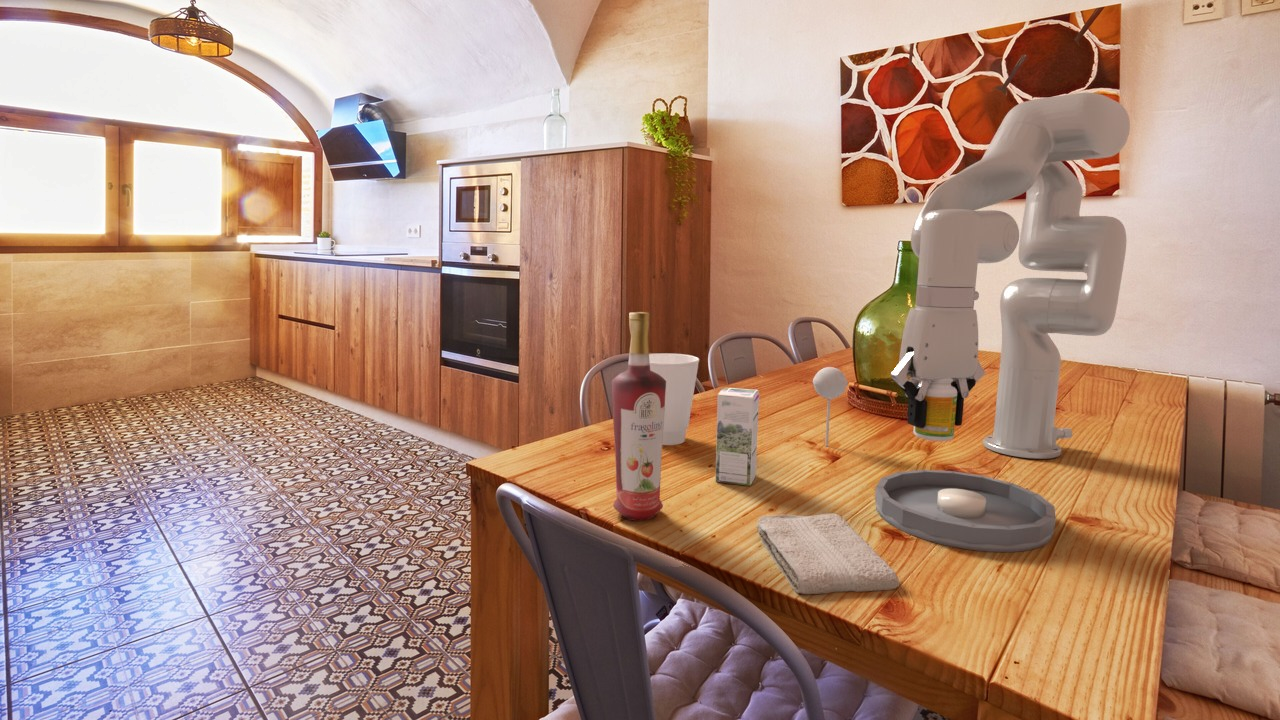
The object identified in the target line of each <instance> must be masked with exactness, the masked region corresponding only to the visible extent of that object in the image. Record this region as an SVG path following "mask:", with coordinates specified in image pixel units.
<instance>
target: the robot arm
mask: <svg viewBox="0 0 1280 720" xmlns="http://www.w3.org/2000/svg"><path fill="white" fill-rule="evenodd" d="M1130 122H1131V121H1130V116H1129V113H1128V111H1127V110H1126V107H1124V106H1123V104H1121V103H1120V102H1118V101H1117V100H1114V99H1113V98H1110V97H1109V96H1106V95H1103V94H1100V93H1096V92H1078V93H1077V92H1076V93H1071V94H1063V95H1055V96H1050V97H1041V98H1034V99H1030V100H1026V101H1023V102H1020V103H1018V104H1017V105H1015V106H1013V107H1012V108H1011V109H1010V110H1009V111H1008V112H1007V114H1006V115H1005V116H1004V118H1003V119H1002V122H1001V123H1000V125H999V127H998V128H997V131H996V132H995V133H994V136H993V137H992V139H991V141H990V143H989V145H988V146H987V149H986V150H985V151H984V154H983V156H982V158H981V159H980V160H978V161H977V162H976V161H975V162H974V163H973V164H970V165H969V166H967V167H965V168H964V169H962V170H961V171H959V172H958V173H956V174H955V175H953V176H951V177H950V178H949V179H947V180H945V181H944V182H943V183H941V184H940V185H939V186H937V187H936V188H935V189H934V190H933V191H932V192H931V193H930V195H929V196H928V198H927V199H926V200H925V203H924V204H923V206H922V208H921V209H920V211H919V213H918V215H917V216H916V218H915V221H914V223H913V227H912V230H911V234H910V246H911V249H912V252H913V253H914V255H915V256H916V257H917V258H918V267H917V269H918V271H917V281H916V282H917V283H916V294H915V305H914V306H915V307H913V308H912V307H911V308H909V311H908V314H907V316H906V321H905V324H904V328H903V332H902V338H901V339H902V340H901V345H900V351H899V359H898V364H897V365H896V367H895V368H894V370H893V371H891V373H890V378H891V379H892V380H893V381H894V382H895V383H896V384H897V385H898V387H899V388H900V389H901V390H902V391H903V392H904V395H905V397H906V398H908V401H907V415H906V416H907V420H906V421H907V424H908V425H910V426H913V427H914V426H916V427H918V428H924V427H925V426H926V414H927V401H925V400H923V399H924V397H925V394H926V391H927V389H928V386H929V383H930V380H940V379H945V378H951V379H953V382H951V386H953V387H955V388H956V390H957V402H956V414H955V426H957V427H958V426H959V427H960V426H962V424H963V414H964V405H965V404H964V403H965V399H967V398H968V397H969V396H970V392H971V390H972V389H973V388H975V385H976V384H977V383H978V381H980V380H981V379H982V378H983V377H984V375H985V374H986V371H985V369H984V368H983V366H982V365H981V363H980V362H979V360H978V356H979V323H978V314H977V310H976V309H974V308H975V307H974V306H975V301H977V300H979V298H980V293H979V292H978V291H977V290H976V286H977V275H978V265H979V264H996V263H999V262H1002V261H1005V260H1006V259H1008V258H1009V257H1010V256H1011V255H1012V254H1013V253H1014V251H1015V250H1016V249H1017V246H1018V261H1019V263H1020V264H1021V265H1022V266H1023V268H1026V269H1029V270H1033V271H1043V272H1044V271H1045V272H1066V273H1067V272H1070V273H1084V274H1086V277H1087V279H1073V278H1072V279H1071V278H1058V277H1057V278H1055V277H1054V278H1052V277H1051V278H1050V277H1025V278H1024V277H1023V278H1019V279H1016V280H1013V281H1010V282H1009V283H1008V284H1007V285H1006V286H1004V288H1003V289H1002V292H1001V295H1000V298H999V299H1000V300H999V310H1000V320H1001V321H1000V322H1001V351H1000V359H999V361H1000V362H999V375H998V382H997V383H998V384H997V393H996V394H997V395H996V402H995V403H996V405H995V413H994V415H995V416H994V424H993V434H990V435H987V436H985V437H984V438H983V440H982V441H983V442H982V443H983V446H984V447H985V448H987V449H988V450H989V451H993V452H995V453H999V454H1002V455H1007V456H1010V457H1011V456H1012V457H1016V458H1024V459H1034V460H1035V459H1036V460H1037V459H1038V460H1040V459H1041V460H1044V459H1045V460H1046V459H1054V458H1058V457H1060V456H1061V454H1062V447H1061V446H1060V445H1059V444H1057V441H1058V440H1059V439H1060V440H1061V439H1070V438H1072V437H1073V430H1072V429H1071V428H1070V427H1059V428H1058V427H1057V426H1055V419H1056V410H1057V409H1056V408H1057V399H1058V390H1059V384H1060V381H1059V380H1060V376H1061V375H1060V372H1061V363H1062V358H1061V357H1062V356H1061V354H1060V351H1059V349H1058V347H1057V346H1056V344H1055V342H1054V341H1053V339H1052V338H1051V337H1050V335H1049V334H1061V335H1063V334H1064V335H1072V336H1073V335H1074V336H1083V337H1084V336H1086V337H1088V336H1089V337H1094V336H1095V337H1096V336H1097V337H1098V336H1102V335H1104V334H1106V333H1107V332H1108V331H1109V330H1111V328H1112V325H1113V323H1114V321H1115V318H1116V317H1115V316H1116V313H1117V307H1118V302H1119V295H1120V290H1121V283H1122V277H1123V271H1124V267H1125V266H1124V264H1125V261H1126V260H1125V258H1126V251H1127V232H1126V227H1125V225H1124V224H1123V222H1122V221H1121V220H1120V219H1118V218H1116V217H1114V216H1109V215H1089V216H1088V215H1084V216H1082V215H1080V211H1081V204H1082V199H1083V198H1082V197H1083V186H1082V184H1081V182H1080V181H1079V179H1078V178H1077V177H1076V175H1075V174H1074V173H1073V172H1072V170H1070V168H1068V166H1066V165H1065V164H1064V163H1063V162H1070V161H1081V160H1083V161H1084V160H1093V159H1094V160H1095V159H1105V158H1111V157H1114V156H1116V155H1117V154H1118V153H1119V152H1120V151H1122V150H1123V149H1124V146H1125V145H1126V143H1127V141H1128V139H1129V135H1130V131H1131V130H1130V128H1131V123H1130ZM1024 193H1026V194H1025V196H1026V197H1025V204H1024V205H1025V206H1024V212H1023V217H1022V223H1021V230H1020V229H1019V226H1018V223H1017V221H1016V220H1015V218H1014V217H1013V216H1012V215H1011V214H1009V213H1007V212H1005V211H1003V210H1002V211H1001V210H996V209H995V210H993V209H991V210H980V209H983V208H987V207H990V206H994V205H997V204H999V203H1003V202H1005V201H1009V200H1011V199H1013V198H1016V197H1019V196H1021V195H1023V194H1024ZM908 377H909V378H908ZM917 387H918V388H917Z"/></svg>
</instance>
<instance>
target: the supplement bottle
mask: <svg viewBox="0 0 1280 720" xmlns="http://www.w3.org/2000/svg"><path fill="white" fill-rule="evenodd" d="M951 382H953V379H951V378H945V379H940V380H930V383H929V386H928V389H927V391H926V394H925V397H924V399H923V400H925V401H927V414H926V426H925V427H924V428H918V427H916V426H913V430H912V431H913V434H914V436H915V437H917V438H920V439H923V440H927V441H933V442H948V441H951V440H953V438H954V436H955V426H956V425H955V414H956V402H957V390H956V388H955V387H953V386H951ZM916 388H918V386H917V387H916Z"/></svg>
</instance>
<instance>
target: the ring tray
mask: <svg viewBox="0 0 1280 720" xmlns="http://www.w3.org/2000/svg"><path fill="white" fill-rule="evenodd" d="M874 492H875V493H874V501H875V509H876V512H877V513H878V515H879V516H880V518H882V519H883V520H884V521H885V522H886V523H888V524H889V525H891V526H892V527H894V528H896V529H898V530H900V531H902V532H903V533H904V532H905V533H906V534H909V535H911V536H913V537H916V538H919V539H922V540H924V541H927V542H930V543H931V542H932V543H936V544H939V545H943V546H947V547H952V548H957V549H962V550H967V551H969V550H970V551H978V552H988V553H1016V552H1026V551H1031V550H1035V549H1039V548H1041V547H1043V546H1045V545H1047V544H1048V543H1050V542H1051V540H1052V538H1053V534H1054V533H1055V526H1056V517H1057V516H1056V507H1055V505H1053V504H1052V503H1051V502H1050V501H1048V500H1047V499H1046V498H1045V497H1043V496H1042V495H1041V494H1038V493H1037V492H1034V491H1032V490H1029V489H1027V488H1025V487H1023V486H1020V485H1017V484H1016V483H1011V482H1008V481H1004V480H1002V479H1001V480H1000V479H997V478H994V477H993V478H992V477H989V476H985V475H980V474H973V473H967V472H960V471H954V470H938V469H935V470H934V469H933V470H932V469H918V470H906V471H896V472H894V473H892V474H888V475H886V476H882V477H881V478H880V480H879V481H878V482H877V484H876V485H875V491H874Z"/></svg>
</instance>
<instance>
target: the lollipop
mask: <svg viewBox="0 0 1280 720" xmlns="http://www.w3.org/2000/svg"><path fill="white" fill-rule="evenodd" d="M812 379H813V380H812V384H813V387H814V390H815V391H816V393H817V394H818V395H819V397H822V398H824V399H827V408H826V412H827V413H826V427H825V429H826V430H825V442H824V444H825V445H824V446H825V447H828V445H829V428H830V414H831V411H830V410H831V399H832V400H833V399H836V398H838V397H840V396H842V395H843V394H844V392H845V391H846V388H847V386H848V380H847V378H846V375H845V374H844V372H843V371H841V370H840V369H838V368H837V367H832V366H827V367H824V368H822V369H820V370H818V371H817V372H816V373H815V375H814V377H813V378H812Z"/></svg>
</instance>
